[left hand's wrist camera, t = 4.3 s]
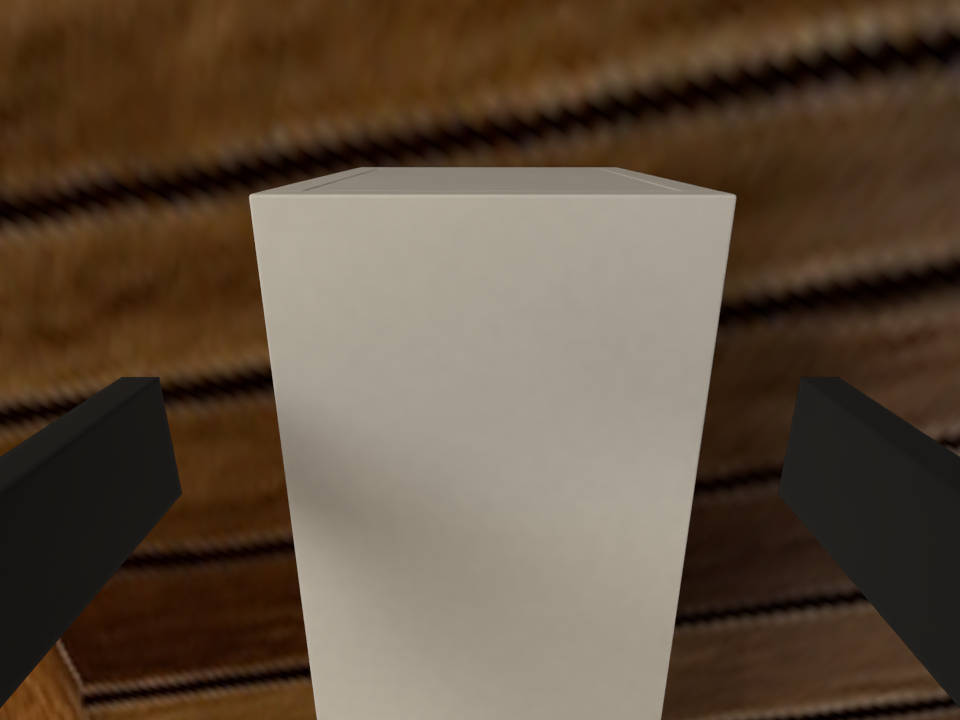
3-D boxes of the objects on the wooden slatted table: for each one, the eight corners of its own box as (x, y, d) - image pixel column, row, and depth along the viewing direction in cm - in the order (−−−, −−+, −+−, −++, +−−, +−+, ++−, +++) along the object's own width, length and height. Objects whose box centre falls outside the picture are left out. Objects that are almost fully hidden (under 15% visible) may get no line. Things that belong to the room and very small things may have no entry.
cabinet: (584, 613, 31) (638, 878, 20) (389, 612, 31) (336, 875, 20) (618, 167, 23) (738, 194, 12) (359, 167, 23) (247, 194, 12)
